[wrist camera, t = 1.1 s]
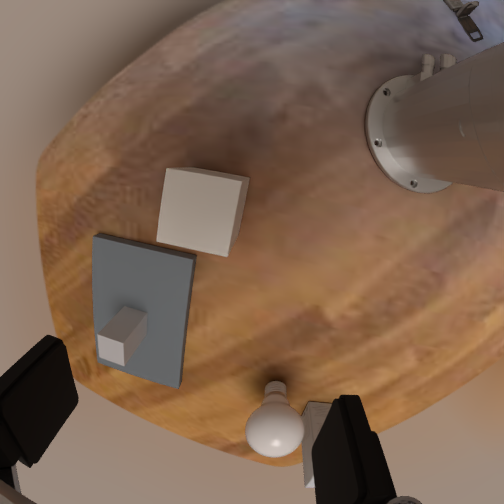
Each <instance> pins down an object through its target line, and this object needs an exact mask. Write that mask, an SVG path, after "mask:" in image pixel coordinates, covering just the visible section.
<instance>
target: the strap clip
mask: <svg viewBox="0 0 504 504" xmlns="http://www.w3.org/2000/svg"><path fill="white" fill-rule="evenodd" d="M443 1H444V2H445V3H446V5H447V6H448V7H449V8H450V9H451V10H453V11H454V12H455V11H458V12H457V13H456V15H457V17H458V18H459V19H458V21H459V22H460V24H461V25H462V27H463V28H464V30H465V32H466V33H467V35H468V36H469V37H470V39H471V40H472V41H473V42H476V41H479V40H482V39H483V36H482V34H481V32H480V30H479V29H478V27H477V26H476V24H475V23H474V22H473V20H472V19H471V18H470V16H468V15H469V14H470V13H471V12H472V11H473V10H474V9H475V8H476V7H477V6H479V2H478V1H474V2H468V3H466V4H465V5H463V3H462V2H461V0H443ZM477 31H478V33H479V34H480V36H481V37H480V38H477V39H473V38H472V37H471V35H470V33H473V32H477Z"/></svg>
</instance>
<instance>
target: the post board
mask: <svg viewBox="0 0 504 504" xmlns="http://www.w3.org/2000/svg"><path fill="white" fill-rule="evenodd" d="M196 257H197V255H193V254H189V253H184V252H180V251H175V250H171V249H166V248H162V247H158V246H153V245H149V244H144V243H140V242H136V241H131V240H127V239H123V238H118V237H114V236H110V235H106V234H101V233H99V234H97V235H94V236H93V251H92V288H93V313H94V329H95V341H96V351H97V360H98V362H99V363H101V364H104V365H107V366H109V367H112V368H115V369H117V370H120V371H123V372H126V373H129V374H132V375H135V376H138V377H141V378H144V379H147V380H150V381H153V382H156V383H160V384H163V385H167V386H170V387H174V388H177V389H179V387H180V385H181V382H182V372H183V362H184V352H185V342H186V333H187V325H188V316H189V308H190V300H191V292H192V285H193V278H194V270H195V264H196Z"/></svg>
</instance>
